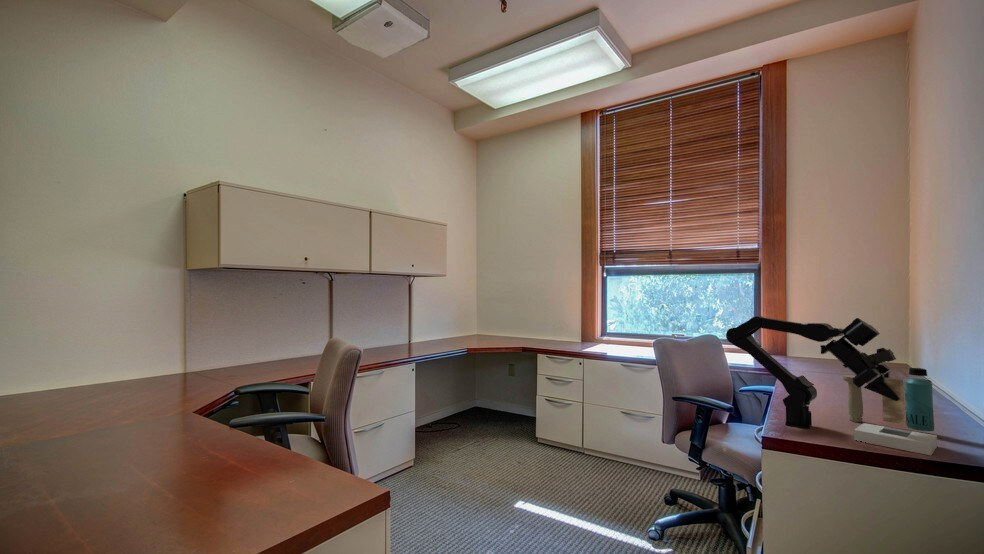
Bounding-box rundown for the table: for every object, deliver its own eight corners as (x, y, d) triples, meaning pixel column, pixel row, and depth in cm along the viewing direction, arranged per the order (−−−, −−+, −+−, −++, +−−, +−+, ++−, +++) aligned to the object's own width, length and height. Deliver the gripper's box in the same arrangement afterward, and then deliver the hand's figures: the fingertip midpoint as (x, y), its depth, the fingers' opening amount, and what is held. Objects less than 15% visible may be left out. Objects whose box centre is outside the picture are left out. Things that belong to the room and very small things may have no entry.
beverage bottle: (929, 432, 138) (926, 367, 139) (939, 437, 132) (936, 370, 133) (902, 429, 141) (899, 365, 142) (911, 434, 135) (908, 368, 136)
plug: (883, 421, 127) (881, 378, 128) (886, 418, 130) (884, 377, 130) (901, 424, 124) (900, 381, 125) (904, 421, 127) (903, 379, 127)
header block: (854, 440, 129) (853, 429, 129) (864, 432, 137) (863, 423, 137) (931, 455, 117) (930, 443, 117) (937, 446, 124) (936, 435, 124)
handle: (871, 423, 147) (869, 378, 148) (849, 422, 148) (847, 377, 149) (862, 420, 152) (860, 375, 153) (841, 418, 153) (839, 375, 154)
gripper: (865, 340, 125) (921, 385, 116) (880, 337, 137) (931, 378, 128) (832, 365, 131) (883, 410, 122) (848, 360, 143) (896, 401, 134)
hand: (899, 399), depth 126 cm, fingers closed on plug, 4 cm apart
